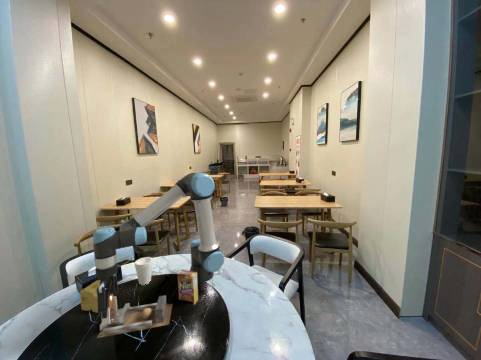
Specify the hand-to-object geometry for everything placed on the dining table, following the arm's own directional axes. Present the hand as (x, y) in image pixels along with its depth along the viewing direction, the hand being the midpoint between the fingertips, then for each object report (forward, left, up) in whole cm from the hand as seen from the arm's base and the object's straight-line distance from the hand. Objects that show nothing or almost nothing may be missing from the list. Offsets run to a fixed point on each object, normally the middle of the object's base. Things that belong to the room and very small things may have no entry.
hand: (110, 317), depth 84 cm
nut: (-15, 0, -3) cm, 15 cm away
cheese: (+12, -18, -5) cm, 22 cm away
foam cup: (-6, -33, -5) cm, 33 cm away
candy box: (-32, -9, -5) cm, 33 cm away
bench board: (-11, 0, -5) cm, 12 cm away
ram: (-2, 0, -3) cm, 3 cm away
